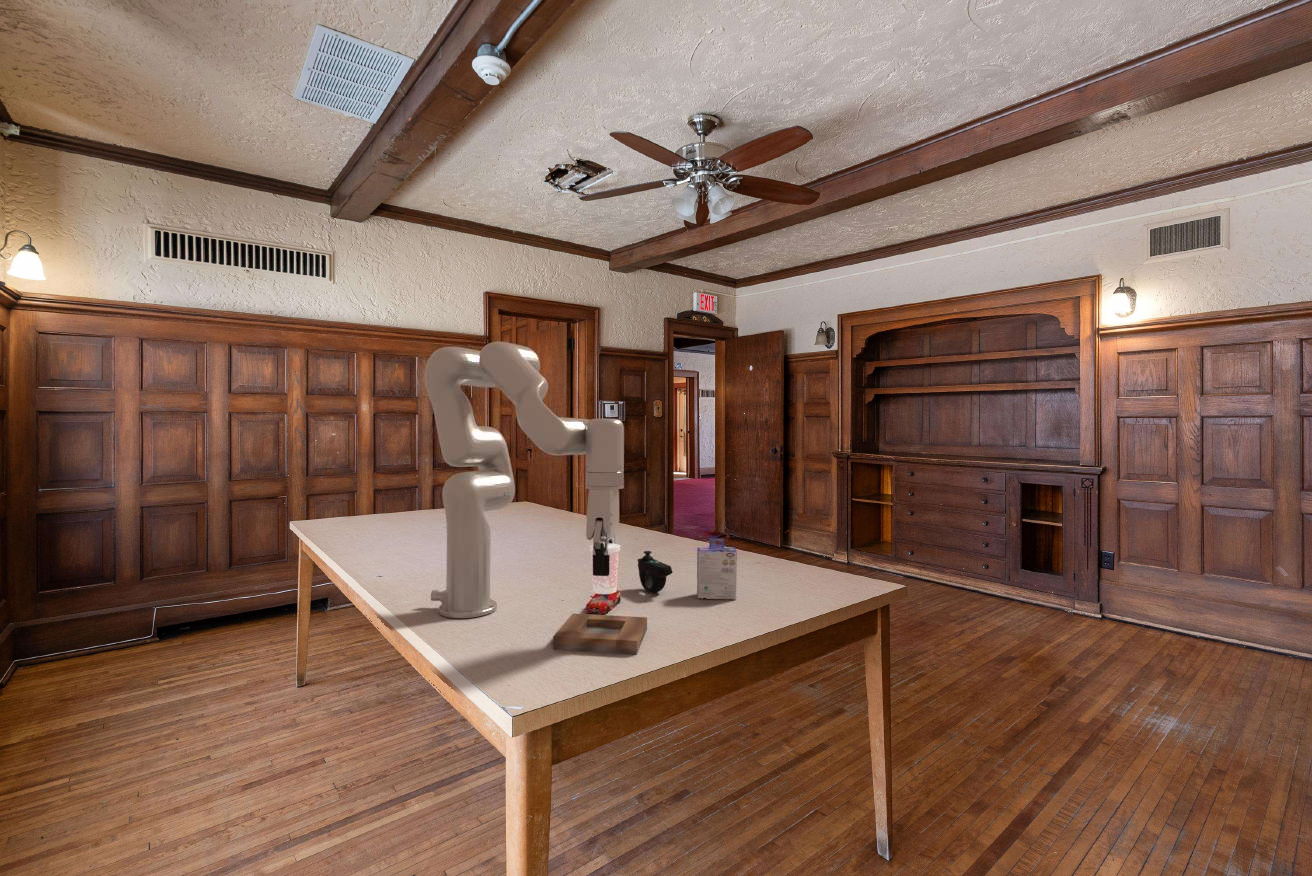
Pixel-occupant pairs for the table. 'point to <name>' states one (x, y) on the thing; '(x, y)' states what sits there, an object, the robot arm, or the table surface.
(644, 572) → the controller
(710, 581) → the ink cartridge box
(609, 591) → the beverage cup
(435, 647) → the table surface
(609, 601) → the race car
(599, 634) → the brown wooden square frame
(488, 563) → the robot arm
